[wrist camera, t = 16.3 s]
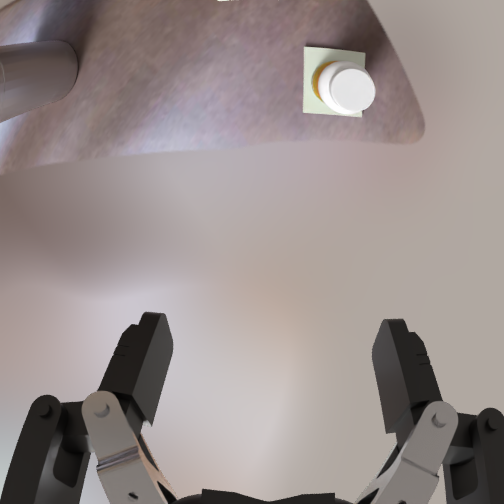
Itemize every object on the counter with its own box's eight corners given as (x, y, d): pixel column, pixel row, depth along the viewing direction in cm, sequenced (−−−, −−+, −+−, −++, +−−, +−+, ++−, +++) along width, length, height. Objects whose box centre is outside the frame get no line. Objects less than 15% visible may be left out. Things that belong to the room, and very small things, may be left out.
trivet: (302, 111, 34) (303, 112, 34) (303, 47, 30) (304, 46, 29) (360, 116, 34) (361, 117, 33) (363, 53, 29) (365, 52, 29)
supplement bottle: (306, 99, 33) (316, 111, 25) (315, 55, 30) (329, 53, 22) (350, 110, 33) (375, 127, 25) (361, 68, 30) (389, 71, 22)
